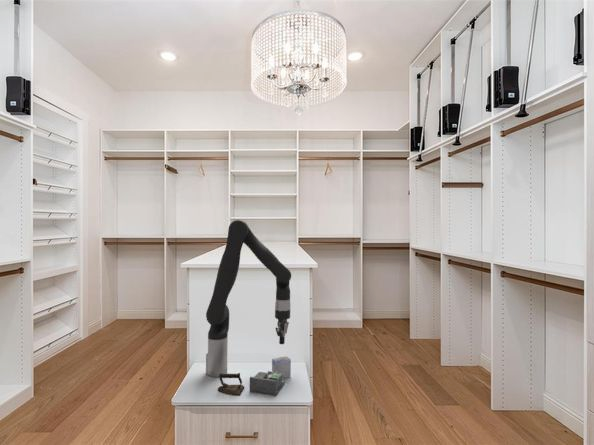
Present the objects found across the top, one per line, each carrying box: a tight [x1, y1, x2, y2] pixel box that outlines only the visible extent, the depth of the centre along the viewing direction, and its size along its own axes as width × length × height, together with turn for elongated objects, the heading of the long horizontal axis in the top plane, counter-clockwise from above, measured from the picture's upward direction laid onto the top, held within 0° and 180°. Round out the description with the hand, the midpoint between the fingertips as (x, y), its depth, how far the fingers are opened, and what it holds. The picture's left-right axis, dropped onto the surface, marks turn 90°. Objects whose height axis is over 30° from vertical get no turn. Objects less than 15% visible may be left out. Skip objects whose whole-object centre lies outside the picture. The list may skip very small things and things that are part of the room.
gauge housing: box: [249, 371, 286, 397], centre depth 146 cm, size 12×11×6 cm
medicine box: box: [271, 356, 292, 380], centre depth 157 cm, size 8×4×9 cm, turn 115°
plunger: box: [265, 370, 277, 380], centre depth 147 cm, size 7×9×4 cm
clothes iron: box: [217, 372, 245, 397], centre depth 143 cm, size 7×11×10 cm, turn 83°
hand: (281, 343), depth 164 cm, fingers closed
